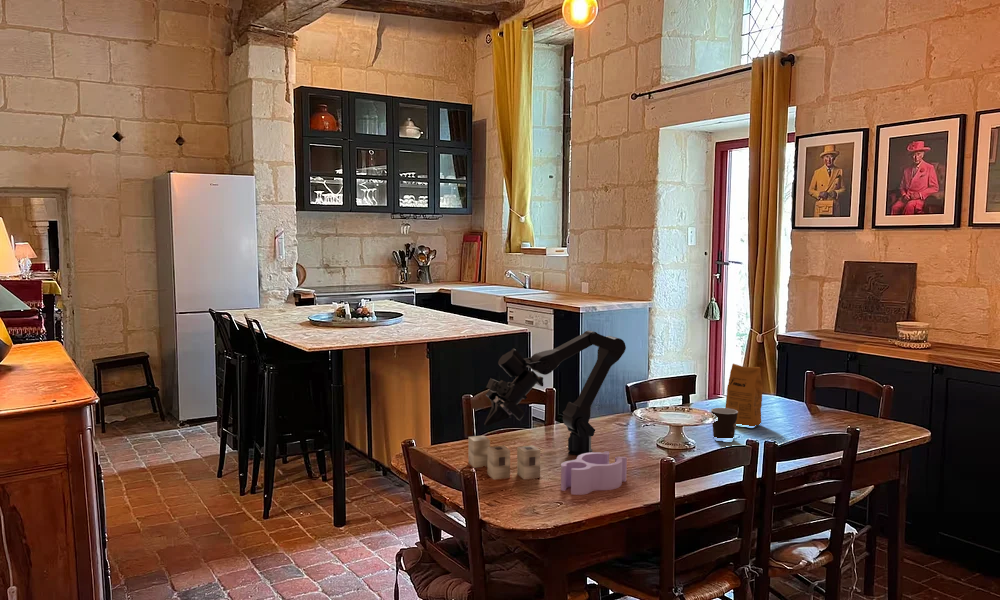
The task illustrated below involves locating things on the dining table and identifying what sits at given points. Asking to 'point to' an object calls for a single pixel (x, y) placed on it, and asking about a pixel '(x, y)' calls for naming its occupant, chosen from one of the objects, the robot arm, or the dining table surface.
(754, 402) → the coffee package
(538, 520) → the dining table surface
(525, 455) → the marked block 2
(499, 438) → the dining table surface
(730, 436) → the coffee mug
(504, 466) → the marked block 1
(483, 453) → the plain block
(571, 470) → the clip
